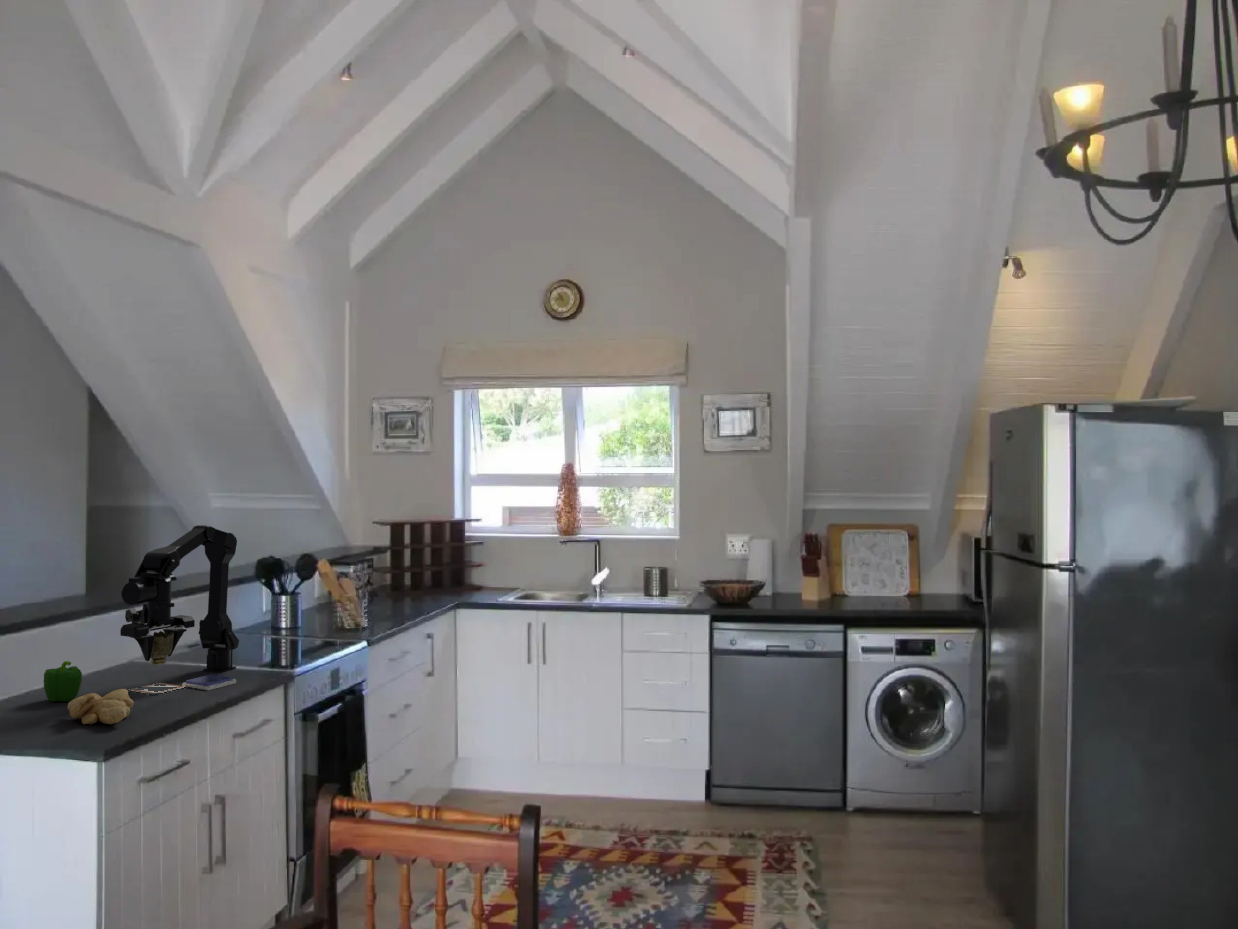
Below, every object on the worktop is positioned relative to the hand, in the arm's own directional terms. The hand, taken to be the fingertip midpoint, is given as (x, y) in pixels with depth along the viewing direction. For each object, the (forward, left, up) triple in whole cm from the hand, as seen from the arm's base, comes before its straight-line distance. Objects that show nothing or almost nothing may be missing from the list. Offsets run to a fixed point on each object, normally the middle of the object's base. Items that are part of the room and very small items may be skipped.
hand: (158, 658), depth 251 cm
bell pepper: (+19, -11, -8) cm, 23 cm away
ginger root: (+27, +14, -9) cm, 31 cm away
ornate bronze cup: (0, 0, -2) cm, 2 cm away
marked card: (0, 0, -8) cm, 8 cm away
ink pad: (-10, +8, -8) cm, 15 cm away
